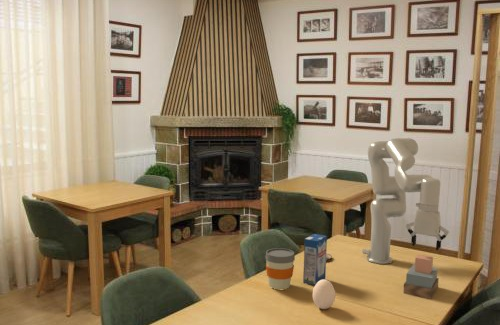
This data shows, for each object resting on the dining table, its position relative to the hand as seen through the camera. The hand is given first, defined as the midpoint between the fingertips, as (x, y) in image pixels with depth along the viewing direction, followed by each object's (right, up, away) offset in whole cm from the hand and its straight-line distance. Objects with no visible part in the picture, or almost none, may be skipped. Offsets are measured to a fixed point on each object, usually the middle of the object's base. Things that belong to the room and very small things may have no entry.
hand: (425, 247), depth 206 cm
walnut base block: (-1, -19, +2) cm, 19 cm away
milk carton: (-46, -17, +11) cm, 50 cm away
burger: (-39, -13, +42) cm, 58 cm away
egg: (-46, -21, -17) cm, 53 cm away
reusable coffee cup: (-62, -18, +4) cm, 64 cm away
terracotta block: (-1, -10, +1) cm, 10 cm away
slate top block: (-1, -15, +2) cm, 15 cm away
